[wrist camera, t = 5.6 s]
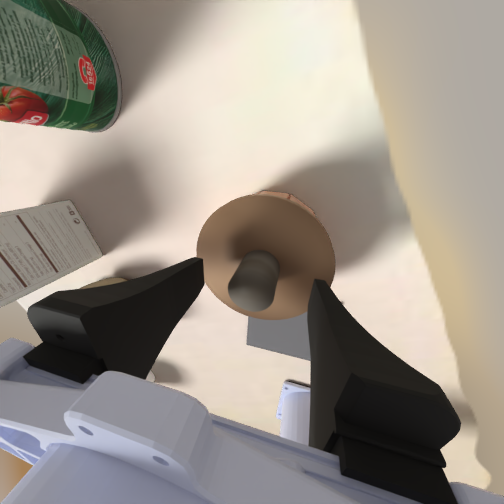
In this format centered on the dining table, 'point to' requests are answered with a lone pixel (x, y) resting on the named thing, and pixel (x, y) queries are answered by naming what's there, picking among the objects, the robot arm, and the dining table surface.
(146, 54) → the dining table surface
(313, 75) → the dining table surface
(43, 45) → the canned tomato
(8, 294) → the supplement box
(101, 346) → the robot arm
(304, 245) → the walnut lid
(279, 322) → the charcoal mat
